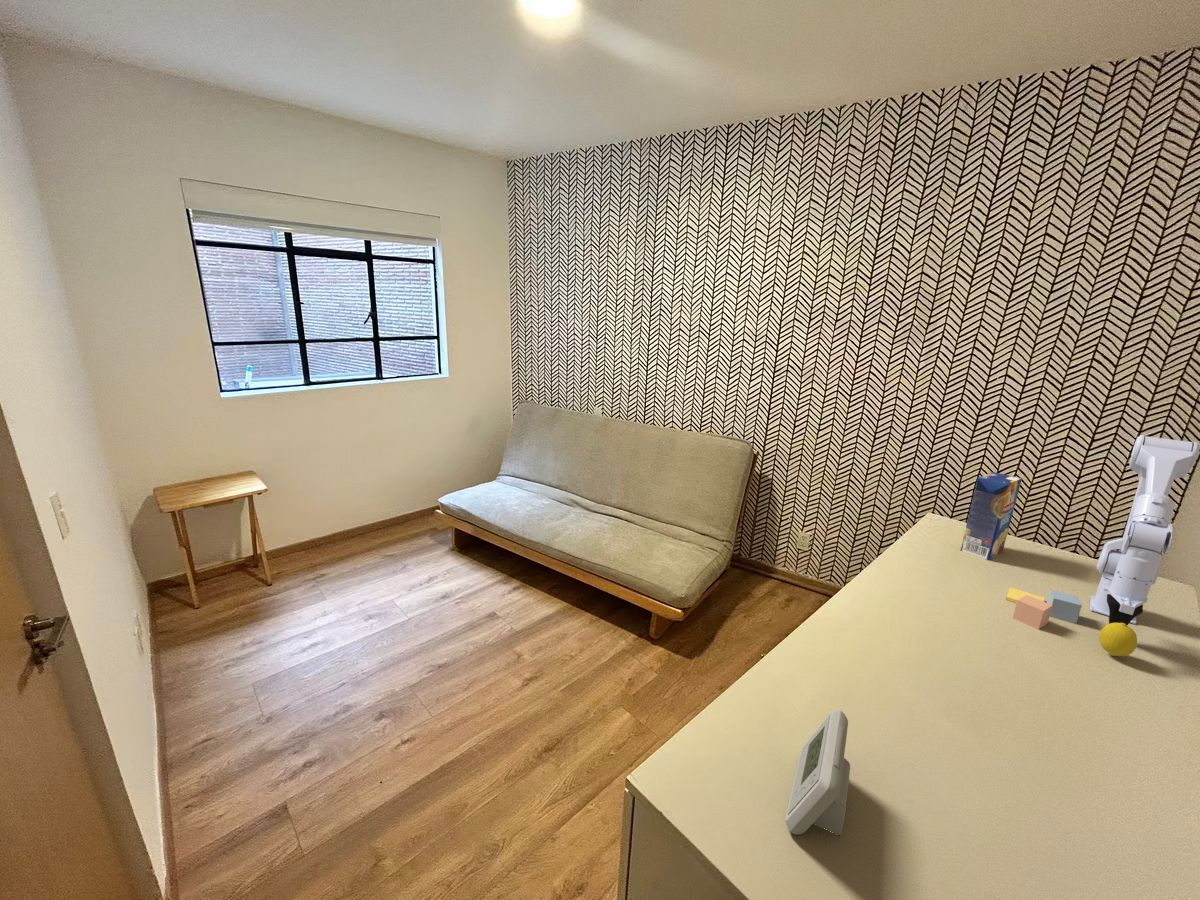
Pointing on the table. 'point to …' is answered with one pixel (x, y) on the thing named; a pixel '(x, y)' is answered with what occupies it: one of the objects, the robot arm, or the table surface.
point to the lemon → (1118, 639)
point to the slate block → (1064, 606)
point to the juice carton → (990, 515)
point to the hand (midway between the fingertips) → (1115, 629)
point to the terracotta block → (1032, 611)
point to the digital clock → (821, 779)
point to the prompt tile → (1020, 595)
